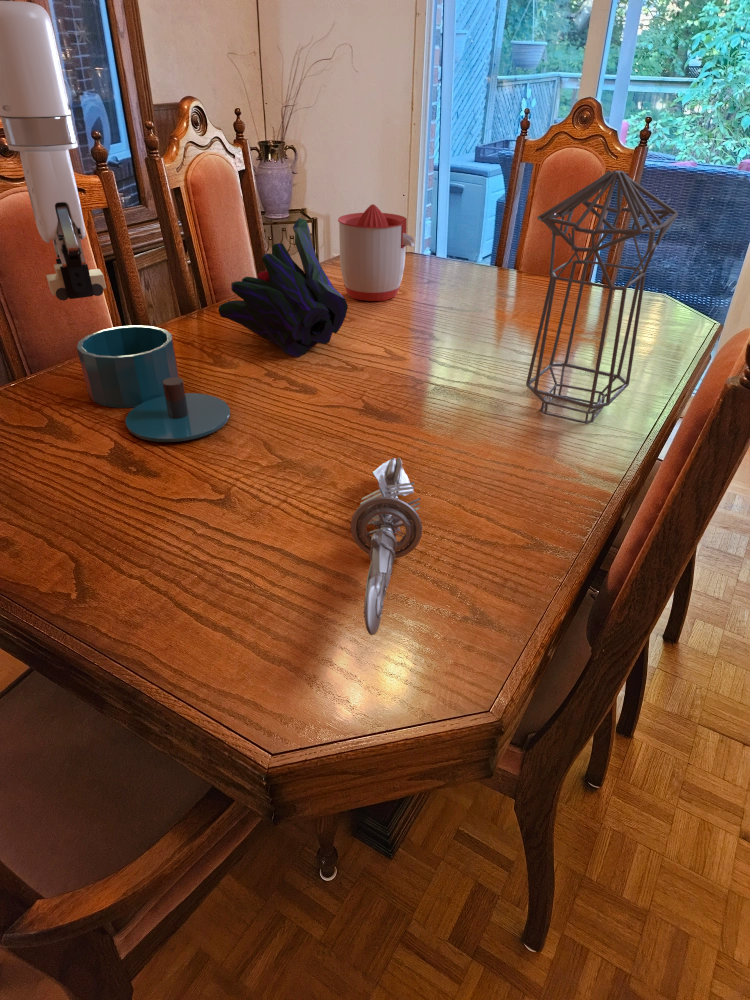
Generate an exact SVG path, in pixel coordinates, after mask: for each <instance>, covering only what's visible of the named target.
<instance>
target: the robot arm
mask: <svg viewBox="0 0 750 1000" xmlns="http://www.w3.org/2000/svg"><path fill="white" fill-rule="evenodd" d="M60 59H61V58H60V54H59V50H58V46H57V41H56V37H55V32H54V28H53V24H52V20H51V17H50V14H49V13H48V11H47V10H46V9H45V8H44V7H43V6H41V5H39V4H37V3H34V2H30V1H19V0H0V121H1V126H2V128H3V132H4V135H5V136H4V137H5V140H6V144H7V147H8V150H9V151H14V152H19V156H20V162H21V167H22V172H23V176H24V181H25V184H26V185H25V186H26V189H27V193H28V197H29V201H30V204H31V205H30V206H31V209H32V212H33V216H34V221H35V223H36V229H37V232H38V234H39V236H40V237H41V239H42V241H43V242H44V243H46V244H51V240H52V244H53V247H54V252H55V255H56V258H55V261H56V264H62V266H60V269H61V273H62V277H63V281H64V285H65V289H66V293H67V296H68V299H70V300H75V299H82V298H91V297H93V296H95V295H94V291H93V287H92V283H91V278H90V274H89V270H90V269H89V265H88V263H87V262H86V259H85V258H86V257H85V254H84V249H83V246H82V241H83V240H84V239H85V238H86V236H87V235H86V227H85V220H84V215H83V211H82V205H81V199H80V195H79V191H78V186H77V181H76V177H75V173H74V168H73V164H72V159H71V155H70V150H73V149H74V150H75V149H77V148H79V144H78V138H77V135H76V130H75V125H74V121H73V116H72V111H71V107H70V106H71V105H70V102H69V98H68V93H67V87H66V84H65V79H64V74H63V70H62V64H61V60H60Z"/></svg>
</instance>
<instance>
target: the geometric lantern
mask: <svg viewBox="0 0 750 1000" xmlns="http://www.w3.org/2000/svg"><path fill="white" fill-rule="evenodd" d="M616 184H617V187H616ZM615 187H616V188H617V189H616V190H617V191H616V208H614V207H611V206H609V204H610V200H611V198H612V195H613V192H614V189H615ZM608 188H609V189H608ZM607 189H608V191H607ZM606 191H607V195H606V197H605V199H604V203H603V204H600V203H597V202H598V201H599V200H600V199H601V197H602V196H603V195H604V193H605V192H606ZM641 193H642V194H643V195H645V196H646V197H647V198H649V199H651V200H652V201H653V202H654V203H656V204H657V205H659V206H660V207H661V208H662V209H652V208H651V206H650V205H649V204H648V202H647V201H646V200H645V198H644V197H643V195H642V194H641ZM595 195H596V196H595ZM622 195H623V197H624V199H625V202H626V204H627V207H625V206H624V207H622ZM594 196H595V197H594ZM593 197H594V199H593V200H592V201H589V200H590V199H591V198H593ZM581 204H582V205H583V206H584V207H585V208H586V209H585V211H584V212H583V213H582V215H580V217H579V218H578V220H577V221H576V222H575V221H572V217H573V214H574V211H575V209H576V208H577V207H579V206H580V205H581ZM596 209H600V210H601V212H600V213H599V211H597V210H596ZM590 212H591V213H592V214H593V215H594V216H595V217H596V218H598V220H597V223H596V226H595V228H594V229H591V228H586V227H581V224H582V223H583V222H584V220H585V219H586V217H587V216H588V215H589V213H590ZM606 212H611V213H614V214H616V215H615V217H614V220H613V223H612V224H611V222H609V221H608V220H607V219H606V218H605V215H606ZM621 212H624V213H630V215H631V218H632V220H633V222H632V225H631V228H627V229H625V228H624V229H623V228H617V227H616V224H617V222H618V219H619V216H620V214H621ZM649 215H650V217H651V219H650V217H649ZM657 215H658V216H657ZM669 215H670V216H669ZM565 216H567V218H566V219H565ZM667 216H669V217H668V218H667V219H666V220H665V221H664V222H662V221H661V220H662V219H663V218H664V219H665V218H666V217H667ZM678 216H679V213H678V211H677V210H675V209H674V208H672V207H671V206H670V205H668V204H667V203H666V202H664V201H663V200H661V199H660V198H658V197H657V196H656V195H654V194H653V193H652V192H650V191H648V189H646V188H645V187H643V186H642V185H640V184H639V183H637V182H636V181H635V180H633V179H632V178H631V177H629V176H628V175H627V174H626V173H625V171H623V170H617V169H615V170H612V171H611V170H607V171H606V172H605V173H604V174H603V175H601V176H599V178H597V179H596V180H594V181H593V182H591V183H589V184H587V185H586V186H584V187H583V188H581V189H580V190H578V191H577V192H575V193H573V194H572V195H570V196H569V197H566V199H564V200H562V201H560V202H559V203H557V204H556V205H554V206H552V207H550V208H549V209H548V210H546V211H545V212H543V213H541V214H539V215H538V216H537V217H536V219H537V220H539V221H540V222H541V223H544V224H545V226H546V227H547V228H548V229H549V230H550V231H551V235H552V237H551V247H550V260H549V273H548V275H549V282H548V286H547V289H546V290H547V291H546V295H545V300H544V303H543V307H542V312H541V317H540V321H539V325H538V329H537V334H536V339H535V342H534V347H533V351H532V355H531V360H530V365H529V368H528V374H527V378H526V383H525V386H526V387H527V388H528V389H529V390H530V391H531V393H532V394H533V395H535V397H537V398H538V399H539V400H540V401H541V406H540V409H539V412H540V413H542V414H543V415H546V416H551V417H554V418H557V419H558V418H559V419H564V420H568V421H571V422H576V423H580V424H584V425H588V424H592V423H594V422H595V420H596V419H597V417H598V416H599V414H600V413H601V411H602V410H603V409H604V408H605V407H609V406H610V405H611V403H613V402H614V400H616V399H617V398H618V397H619V396H620V395H621V394H622V392H624V391H625V390H626V389H627V387H629V385H630V380H631V374H632V368H633V361H634V354H635V347H636V341H637V336H638V328H639V322H640V315H641V309H642V301H643V296H644V289H645V282H646V276H647V275H646V272H647V270H648V267H649V265H650V262H651V260H652V258H653V255H654V253H655V251H656V249H657V247H658V246H659V245H660V243H661V241H662V240H663V238H664V237H665V235H666V233H667V232H668V230H669V229H670V228H671V226H672V225H673V224H674V222H675V220H676V219H677V217H678ZM640 217H643V219H644V221H645V223H643V224H641V222H640V220H639V218H640ZM559 218H560V219H559ZM602 223H603V224H604V225H605V226H606V227H607V228H606V229H605V228H604V229H603V228H601V226H602ZM556 224H557V225H556ZM654 224H656V225H654ZM558 225H559V227H558ZM563 226H564V227H563ZM569 227H571V233H570V232H568V231H569ZM646 228H649V230H645V229H646ZM657 231H659V232H658V236H657V238H656V240H655V237H656V232H657ZM576 232H579V233H583V234H589V235H591V247H584V246H583V247H581V246H580V247H578V246H577V245H576V244H575V243H576V242H575V239H576V238H575V236H576V235H575V233H576ZM597 234H601V235H602V234H603V235H602V237H601V238H600V239H599V240H598V241H597V243H596V244H595V242H596V241H595V239H596V235H597ZM609 234H611V235H612V234H613V235H620V234H621V235H623V236H621V237H618V238H615V239H614V240H611V241H609V242H606V243H604V244H603V242H604V241H605V239H606V238H607V237H608V235H609ZM641 234H648V235H649V236H648V241H647V248H646V252H645V254H644V255H643V257H642V254H641V251H640V248H639V244H638V241H637V237H636V236H639V235H641ZM557 237H561V238H562V239H563V240H564V241H565V243H567V244H568V245H569V247H571V251H573V254H572V255H571V257H570V258H569V259H568V260H567V262H565V263H563V264H561V265H560V266H558V267H556V268H554V263H555V262H554V261H555V250H556V238H557ZM632 238H633V242H634V245H635V249H636V253H637V255H638V259H639V263H638V265H637V266H635V267H634V266H629V265H622V264H614V263H609V262H603V260H602V257H601V255H600V251H603V250H604V249H607V248H610V247H613V246H615V245H617V244H619V243H621V242H624V241H626V240H629V239H632ZM578 253H588V254H587V255H586V257H585V258H584V259H580V256H579V254H578ZM593 254H594V255H595V258H596V260H597V261H594V260H589V259H590V258H591V257H592V255H593ZM575 257H576V259H574V258H575ZM573 259H574V260H573ZM644 262H645V263H644ZM570 264H572V265H571V268H570V273H569V278H567V277H562V276H561V274H562V273H563V272H564V271H565V270H566V269H567V267H568V265H570ZM589 264H592V265H598V266H599V267H600V269H601V272H602V274H603V277H604V279H605V282H606V284H607V285H606V284H602V283H601V284H600V283H595V282H589V281H586V275H587V271H588V266H589ZM577 265H584V266H583V270H582V274H581V279H580V280H579V279H574V276H575V272H576V267H577ZM606 267H612V268H619V269H626V270H633V273H632V274H631V276H630V277H629V279H628V281H626V283H625V285H613V284H612V281H611V279H610V276H609V273H608V272H607V269H606ZM559 270H560V271H559ZM558 271H559V272H558ZM556 272H558V274H556ZM637 272H638V273H637ZM636 274H637V277H635V276H636ZM557 280H559V281H564V282H568V283H567V285H566V286H567V287H566V291H565V295H564V299H563V304H562V309H561V313H560V317H559V322H558V326H557V330H556V335H555V338H554V343H553V348H552V351H551V356H550V360H549V364H548V365H547V366H545V368H543V369H542V365H543V359H544V353H545V347H546V343H547V342H546V341H547V336H548V332H549V331H548V330H549V326H550V319H551V313H552V308H553V301H554V297H555V289H556V285H557ZM572 283H575V284H579V288H578V293H577V297H576V298H577V299H576V303H575V309H574V313H573V318H572V323H571V328H570V333H569V338H568V343H567V348H566V352H565V358H564V362H554V361H555V357H556V353H557V349H558V345H559V340H560V336H561V331H562V328H563V322H564V319H565V315H566V310H567V306H568V301H569V297H570V293H571V290H572V289H571V288H572ZM633 284H635V287H634V290H633V296H632V301H631V306H630V310H629V315H628V320H627V324H626V329H625V334H624V337H623V338H624V339H623V344H622V348H621V352H620V358H619V363H618V367H617V372H616V373H615V368H616V362H617V355H618V349H619V342H620V337H621V330H622V323H623V316H624V310H625V304H626V296H627V290H628V288H629V287H630V286H632V285H633ZM585 285H586V286H592V287H596V288H597V287H598V288H603V289H609V291H608V295H607V301H606V307H605V311H604V319H603V323H602V329H601V334H600V341H599V347H598V353H597V356H596V357H597V358H596V362H595V363H596V364H595V368H594V369H593V368H589V367H584V366H581V365H575V364H571V363H568V362H569V358H570V353H571V348H572V344H573V340H574V334H575V330H576V325H577V319H578V314H579V310H580V305H581V300H582V295H583V291H584V286H585ZM614 291H621V297H620V302H619V303H620V304H619V311H618V317H617V322H616V330H615V337H614V342H613V343H614V344H613V348H612V349H613V351H612V357H611V364H610V370H609V372H606V371H602V370H600V368H601V362H602V357H603V351H604V344H605V339H606V335H607V334H606V333H607V328H608V322H609V317H610V311H611V304H612V298H613V292H614ZM636 303H637V304H636ZM635 309H636V310H635ZM634 314H635V316H634ZM634 317H635V318H634ZM633 318H634V324H633V330H632V336H631V337H632V338H631V344H630V352H629V358H628V364H627V372H626V378H623V376H622V375H621V374H622V369H623V365H624V359H625V356H626V351H627V346H628V342H629V337H630V332H631V327H632V323H633ZM542 331H543V333H542ZM541 336H542V338H541ZM540 341H541V344H540ZM539 345H540V350H539V356H538V362H537V368H536V372H535V373H536V374H535V376H534V377H532V376H533V370H534V367H535V362H536V357H537V353H538V349H539ZM554 367H555V368H556V367H561V375H560V381H559V383H558V382H557V378H556V375H555V372H554V370H553V368H554ZM565 368H571V369H574V370H579V371H582V372H588V373H593V374H594V375H593V381H592V387H591V389H590V388H585V387H580V386H575V385H574V386H573V385H569V384H563V382H564V376H565V375H564V374H565ZM547 371H549V372H550V374H551V377H552V380H553V383H554V385H553V386H552V388H550V390H549V391H545V390H541V389H539V388H538V387H539V382H540V377H542V376H543V375H544V374H545V373H547ZM599 375H601V376H606V377H608V383H607V385H606V386H605V387H604V388H603V389H602V390H601V391H600V390H597V384H598V380H599V379H598V378H599ZM617 379H618V380H619V381H620V382H621V383H622V384H621V385H619V386H618V387H615V388H614V389H612V387H613V383H614V382H615V381H616V380H617ZM533 383H534V385H532V384H533ZM557 387H559V390H558V394H556V393H557V392H556V391H557ZM563 387H564V388H567V389H574V390H577V391H584V392H589V393H590V398H589V400H588V399H582V398H577V397H573V396H569V395H565V394H562V389H563ZM605 392H606V393H605ZM613 393H615V394H613ZM596 394H598V396H597V401H595V397H596V396H595V395H596ZM612 394H613V395H612ZM611 395H612V396H611ZM543 396H544V397H543ZM548 398H549V399H548ZM554 399H557V400H560V401H563V402H567V403H571V404H574V405H577V406H579V407H580V406H581V407H584V408H588V409H587V410H584V409H581V408H575V407H571V406H567V405H563V404H559V403H555V402H552V400H554ZM549 406H554V407H558V408H563V409H566V410H569V411H574V412H578V413H583V414H585V418H584V420H581V419H577V418H572V417H568V416H565V415H560V414H556V413H551V412H548V407H549ZM589 415H591V417H590V420H589Z"/></svg>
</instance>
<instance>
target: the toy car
mask: <svg viewBox="0 0 750 1000" xmlns="http://www.w3.org/2000/svg"><path fill="white" fill-rule="evenodd" d="M60 266H62V264H57V263H56V264H53V268H54V272H55V273H51V274H45V277H46V281H47V285H48V288H49V290H50V293H51V294H52V296H56V298H57V299H58V300H59V301H67V300H68V299H69V298H68V296H67V293H66V289H65V285H64V281H63V277H62V273H61V269H60ZM89 274H90V278H91V283H92V287H93V291H94V295H93V296H95V297H100V296H102V295H103V294H104V290H106V289H107V285H106V281H105V276H104V273H103V272H102V271H101V269H100V268H95V269H89Z"/></svg>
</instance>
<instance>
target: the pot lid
mask: <svg viewBox="0 0 750 1000" xmlns="http://www.w3.org/2000/svg"><path fill="white" fill-rule="evenodd" d="M162 383H163V389H164V394H165V396H161V397H157V398H154V399H151V400H148V401H146V402H143V403H141V404H140V405H138V406H136V407H132V409H131V410H130V411H129V412H127V415H126V417H125V420H124V421H125V426H126V430H127V431H128V432H129V433H130V434H131V435H133V436H134V437H136V438H139V439H141V440H144V441H148V442H155V443H156V442H157V443H177V442H186V441H191V440H195V439H199V438H204V437H206V436H208V435H211V434H213V433H215V432H217V431H219V430H220V429H221V428H223V427H224V426H225V425H226V424H227V423H228V422H229V420H230V417H231V409H230V406H229V404H228V403H227V402H226V401H225V400H223V399H221V398H219V397H217V396H214V395H211V394H206V393H199V392H198V393H197V392H186V390H185V389H186V388H185V384H184V379H183V378H181V377H179V378H178V377H172V378H167V379H165V380H163V382H162Z"/></svg>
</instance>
